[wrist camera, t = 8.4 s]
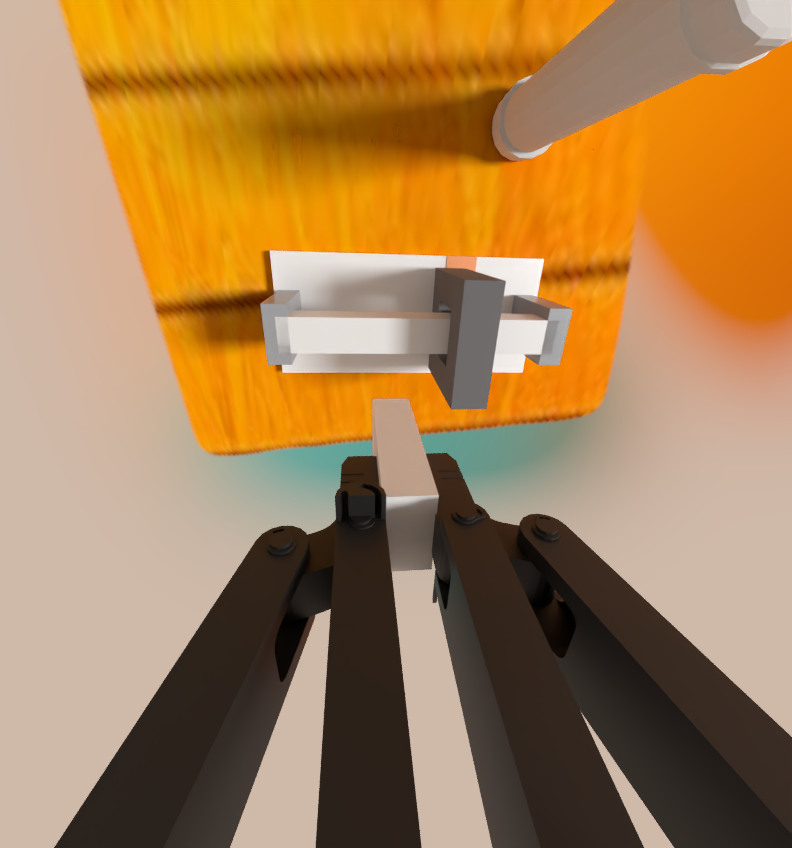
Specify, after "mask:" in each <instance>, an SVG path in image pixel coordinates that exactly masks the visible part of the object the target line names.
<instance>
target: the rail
mask: <svg viewBox="0 0 792 848" xmlns="http://www.w3.org/2000/svg"><path fill="white" fill-rule="evenodd" d="M270 259H271V268H272V278H273V287H274V294H273V295H271V296H270V297H269V298H267V299H266V300H265V301H263V302H262V303H261V304H260V306H261V314H262V322H263V330H264V338H265V346H266V354H267V362H268V365H282V371H283V373H431V372H430V370H429V368H428V363H429V354H447V351H448V340H449V330H450V319H451V313H435V312H432V309H433V295H434V281H435V268H465V269H469V270H472V271H475V272H479V273H482V274H485V275H488V276H491V277H495V278H498V279H501V280H504V281H506V284H505V291H504V297H503V304H502V310H501V317H500V323H499V330H498V337H497V343H496V350H495V356H494V363H493V369H492V372H523V367H524V362H525V357H528V358H529V359H531V360H532V361H533V362H535V363H536V364H538V365H560V361H561V356H562V352H563V348H564V344H565V339H566V335H567V331H568V327H569V322H570V318H571V314H572V310H573V309H571V308H568V307H565V306H562V305H560V304H557V303H554V302H551V301H548V300H545V299H542V298H539V297H537V294H538V289H539V283H540V278H541V273H542V268H543V263H544V259H535V258H503V257H471V256H438V255H406V254H373V253H341V252H308V251H276V250H271V251H270Z"/></svg>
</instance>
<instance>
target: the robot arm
mask: <svg viewBox="0 0 792 848" xmlns="http://www.w3.org/2000/svg"><path fill="white" fill-rule="evenodd" d="M335 505H336V520H335V521H334V522H333V523H332V524H331V525H330V526H329V527H327V528H325V529H323V530H321V531H318V532H315V533H312V534H309V535H307V534H306V533H305V532H304V531H303V530H302V529H300V528H297V527H294V526H280V527H277V528H273V529H270V530H269V531H267V532H265V533H263V534H262V535H261V536H260V537H259V538H258V539H257V540H256V541H255V543H254V545H253V546H252V548H251V549H250V551H249V552H248V554H247V555H246V557H245V558H244V560H243V562H242V563H241V564H240V566H239V567H238V569H237V571H236V572H235V573H234V575H233V576H232V578H231V580H230V581H229V583H228V584H227V586H226V587H225V589H224V590H223V592H222V593H221V595H220V596H219V598H218V599H217V601H216V602H215V604H214V606H213V607H212V608H211V610H210V611H209V613H208V615H207V616H206V618H205V619H204V621H203V622H202V624H201V625H200V627H199V628H198V630H197V631H196V633H195V634H194V636H193V637H192V639H191V640H190V642H189V643H188V645H187V646H186V648H185V649H184V651H183V653H182V654H181V656H180V657H179V659H178V660H177V662H176V663H175V665H174V666H173V668H172V669H171V671H170V672H169V674H168V675H167V677H166V678H165V680H164V681H163V683H162V684H161V686H160V688H159V689H158V691H157V692H156V694H155V695H154V697H153V698H152V700H151V701H150V703H149V705H148V706H147V707H146V709H145V710H144V712H143V713H142V715H141V717H140V718H139V719H138V721H137V723H136V724H135V726H134V727H133V729H132V730H131V732H130V733H129V735H128V736H127V738H126V739H125V741H124V742H123V744H122V745H121V747H120V748H119V750H118V752H117V753H116V754H115V756H114V758H113V759H112V761H111V762H110V764H109V765H108V767H107V768H106V770H105V771H104V773H103V774H102V776H101V777H100V779H99V781H98V782H97V783H96V785H95V786H94V788H93V789H92V791H91V792H90V794H89V796H88V797H87V799H86V800H85V802H84V803H83V805H82V806H81V808H80V809H79V811H78V812H77V814H76V815H75V817H74V818H73V820H72V822H71V823H70V825H69V826H68V828H67V829H66V831H65V832H64V834H63V835H62V837H61V838H60V840H59V841H58V843H57V845H56V846H55V847H54V848H230V846H231V843H232V840H233V837H234V835H235V832H236V830H237V827H238V824H239V821H240V819H241V816H242V813H243V810H244V808H245V805H246V803H247V800H248V797H249V794H250V792H251V789H252V786H253V784H254V781H255V778H256V776H257V773H258V770H259V767H260V765H261V762H262V759H263V756H264V754H265V751H266V748H267V746H268V743H269V740H270V737H271V735H272V732H273V730H274V727H275V724H276V721H277V719H278V716H279V713H280V711H281V708H282V705H283V703H284V700H285V697H286V694H287V692H288V689H289V686H290V684H291V681H292V678H293V676H294V673H295V670H296V668H297V665H298V662H299V659H300V656H301V654H302V651H303V648H304V646H305V643H306V641H307V638H308V635H309V632H310V629H311V627H312V624H313V622H314V618H315V615H316V614H318V613H321V612H324V611H326V610H329V609H331V614H330V631H329V646H328V662H327V677H326V693H325V709H324V725H323V741H322V756H321V773H320V788H319V804H318V819H317V836H316V848H421V839H420V830H419V820H418V812H417V802H416V793H415V784H414V776H413V775H414V774H413V765H412V756H411V747H410V737H409V729H408V720H407V710H406V701H405V692H404V682H403V673H402V664H401V655H400V645H399V637H398V627H397V618H396V608H395V599H394V590H393V581H392V572H391V571H406V570H424V569H432V568H431V567H432V558H433V560H434V564H435V568H436V570H435V580H434V590H433V603H436V601H437V597H438V602H439V606H440V611H441V615H442V620H443V625H444V629H445V634H446V638H447V643H448V647H449V652H450V656H451V661H452V665H453V670H454V674H455V679H456V684H457V688H458V693H459V697H460V702H461V706H462V711H463V715H464V719H465V725H466V729H467V733H468V738H469V743H470V747H471V752H472V756H473V761H474V765H475V770H476V774H477V779H478V783H479V788H480V793H481V797H482V801H483V806H484V810H485V815H486V820H487V824H488V829H489V833H490V838H491V843H492V847H493V848H644V847H643V845H642V842H641V840H640V838H639V836H638V834H637V832H636V830H635V827H634V825H633V823H632V821H631V819H630V817H629V815H628V813H627V810H626V808H625V806H624V804H623V802H622V800H621V797H620V795H619V793H618V791H617V789H616V787H615V785H614V782H613V780H612V778H611V776H610V774H609V772H608V770H607V768H606V765H605V763H604V761H603V759H602V757H601V755H600V752H599V750H598V748H597V746H596V744H595V742H594V740H593V737H592V735H591V733H590V731H589V729H588V727H587V725H586V723H585V720H584V718H583V716H582V714H583V715H584V717H585V718H586V719H587V721H588V722H589V724H590V725H591V727H592V728H593V730H594V731H595V733H596V734H597V735H598V737H599V739H600V740H601V741H602V743H603V744H604V746H605V747H606V749H607V750H608V752H609V753H610V754H611V756H612V757H613V759H614V760H615V762H616V763H617V765H618V766H619V767H620V769H621V771H622V772H623V773H624V775H625V776H626V778H627V779H628V781H629V782H630V784H631V785H632V787H633V788H634V789H635V791H636V792H637V794H638V795H639V797H640V798H641V800H642V801H643V803H644V804H645V806H646V807H647V808H648V810H649V811H650V813H651V814H652V816H653V817H654V819H655V820H656V822H657V823H658V824H659V826H660V827H661V829H662V830H663V832H664V833H665V835H666V836H667V838H668V839H669V841H670V842H671V843H672V845H673V846H674V848H792V737H791V736H790V735H789V734H788V733H787V732H786V731H785V730H784V729H783V728H781V727H780V726H779V725H778V724H777V723H776V722H775V721H774V720H773V719H772V718H771V717H770V716H769V715H768V714H766V713H765V712H764V711H763V710H762V709H761V708H760V707H759V706H758V705H757V704H756V703H755V702H754V701H753V700H752V699H751V698H749V697H748V696H747V695H746V694H745V693H744V692H743V691H742V690H741V689H740V688H739V687H738V686H737V685H735V684H734V683H733V682H732V681H731V680H730V679H729V678H728V677H727V676H726V675H725V674H724V673H723V672H722V671H721V670H720V669H719V668H717V667H716V666H715V665H714V664H713V663H712V662H711V661H710V660H709V659H708V658H707V657H706V656H704V654H702V653H701V652H700V651H699V650H698V649H697V648H696V647H695V646H694V645H693V644H692V643H691V642H690V641H689V640H688V639H687V638H685V637H684V636H683V635H682V634H681V633H680V632H679V631H678V630H677V629H676V628H675V627H674V626H673V625H672V624H671V623H669V622H668V621H667V620H666V619H665V618H664V617H663V616H662V615H661V614H660V613H659V612H658V611H657V610H656V609H655V608H653V607H652V606H651V605H650V604H649V603H648V602H647V601H646V600H645V599H644V598H643V597H642V596H641V595H640V594H639V593H637V592H636V591H635V590H634V589H633V588H632V587H631V586H630V585H629V584H628V583H627V582H626V581H625V580H624V579H623V578H621V577H620V576H619V575H618V574H617V573H616V572H615V571H614V570H613V569H612V568H611V567H610V566H609V565H608V564H606V563H605V562H604V561H603V560H602V559H601V558H600V557H599V556H598V555H597V554H596V553H595V552H594V551H593V550H591V548H589V547H588V546H587V545H586V544H585V543H584V542H583V541H582V540H581V539H580V538H579V537H577V535H576V534H574V533H573V532H572V531H571V530H570V529H569V528H568V527H567V526H566V525H564V524H563V523H562V522H560V521H559V520H557V519H555V518H553V517H550V516H547V515H542V514H531V515H528V516H526V517H524V518H523V519H522V520H521V522H520V525H519V526H518V525H512V524H507V523H502V522H498V521H495V520H493V519H490V516H489V515H488V513H487V512H486V511H485V509H483V508H482V507H480V506H479V505H477V504H475V503H474V501H473V499H472V496H471V494H470V492H469V490H468V487H467V485H466V483H465V480H464V479H463V476H462V473H461V472H460V469H459V467H458V464H457V462H456V460H454V459H453V458H452V457H451V456H449V455H448V454H447V453H433V454H426V453H425V450H424V447H423V444H422V441H421V437H420V434H419V431H418V428H417V425H416V422H415V418H414V415H413V412H412V409H411V406H410V402H409V399H373V456H353V457H347V459H346V460H345V461H344V463H343V464H342V469H341V486H340V489H339V490H338V491H337V493H336V496H335ZM580 711H581V712H582V714H581V712H580Z"/></svg>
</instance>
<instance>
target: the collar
mask: <svg viewBox="0 0 792 848" xmlns="http://www.w3.org/2000/svg"><path fill="white" fill-rule="evenodd" d="M505 284H506V281H504V280H501V279H498V278H495V277H491V276H488V275H485V274H482V273H479V272H475V271H472V270H469V269H465V268H435V281H434V295H433V309H432V312H435V313H451V319H450V330H449V340H448V351H447V354H429V363H428V368H429V370H430V372H431V373H432V375H433V377H434V379H435V381H436V383H437V384H438V386H439V388H440V390H441V392H442V394H443V395H444V397H445V399H446V401H447V403H448V405H449V406H450V408H451V409H487V402H488V395H489V389H490V382H491V376H492V369H493V363H494V356H495V350H496V343H497V337H498V330H499V323H500V317H501V310H502V304H503V297H504V291H505Z"/></svg>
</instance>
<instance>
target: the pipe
mask: <svg viewBox="0 0 792 848" xmlns="http://www.w3.org/2000/svg"><path fill="white" fill-rule="evenodd" d="M790 41H792V0H616V1H615V2H614V3H613V4H612V5H611V6H609V7H608V8H607V9H606V10H605V11H604V12H603V13H602V14H601V15H599V16H598V17H597V18H596V19H595V20H594V21H593V22H592V23H591V24H589V25H588V26H587V27H586V28H585V29H584V30H583V31H582V32H581V33H579V34H578V35H577V36H576V37H575V38H574V39H573V40H572V41H571V42H569V43H568V44H567V45H566V46H565V47H564V48H563V49H562V50H561V51H559V52H558V53H557V54H556V55H555V56H554V57H553V58H552V59H550V60H549V61H548V62H547V63H546V64H545V65H544V66H543V67H542V68H540V69H539V70H538V71H537V72H536V73H535V74H534V75H533V76H528V77H526V78H524V79H522V80H520V81H518V82H516V83H515V84H514V86H513V87H512V88H511V89H510V90H509V91H508V92H507V93H506V95H505V96H504V98H503V99H502V100H501V101H500V103H499V104H498V106H497V109H496V111H495V113H494V116H493V122H492V136H493V140H494V145H495V146H496V148H497V149H498V151H499V152H500V154H501V155H502V156H504V157H506V158H507V159H509V160H511V161H522V160H525V159H531V158H533V157H536V156H538V155H540V154H542V153H544V152H545V151H546V150H547V149H548V148H549V147H550V146H551V145H552V144H553V142H555V141H558V140H560V139H562V138H564V137H566V136H568V135H570V134H573V133H575V132H577V131H579V130H581V129H583V128H585V127H588V126H590V125H592V124H594V123H596V122H598V121H600V120H603V119H605V118H607V117H609V116H611V115H613V114H615V113H618V112H620V111H622V110H624V109H626V108H628V107H631V106H633V105H635V104H637V103H639V102H641V101H643V100H646V99H648V98H650V97H652V96H654V95H656V94H658V93H661V92H663V91H665V90H667V89H669V88H671V87H673V86H676V85H678V84H680V83H682V82H684V81H686V80H688V79H691V78H693V77H695V76H697V75H699V74H722V75H725V74H728V73H730V72H732V71H734V70H737V69H739V68H741V67H743V66H745V65H748V64H750V63H752V62H754V61H756V60H758V59H760V58H763V57H764V56H765V55H766V54H767V53H768V52H769V51H770V50H772V49H775V48H777V47H779V46H781V45H784V44H786V43H788V42H790Z"/></svg>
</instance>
